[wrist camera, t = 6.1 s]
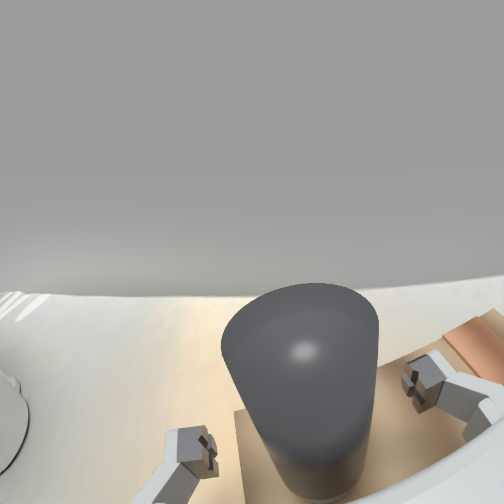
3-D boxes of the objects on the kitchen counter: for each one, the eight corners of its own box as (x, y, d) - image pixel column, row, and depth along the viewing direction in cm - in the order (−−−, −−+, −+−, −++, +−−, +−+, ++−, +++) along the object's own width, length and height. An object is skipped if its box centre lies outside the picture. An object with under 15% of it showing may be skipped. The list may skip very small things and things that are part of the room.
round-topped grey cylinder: (296, 520, 10) (225, 410, 5) (282, 463, 14) (218, 305, 9) (370, 497, 10) (408, 351, 5) (349, 443, 14) (342, 269, 9)
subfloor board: (268, 599, 6) (261, 601, 5) (239, 422, 19) (232, 409, 18) (580, 417, 7) (592, 402, 6) (489, 321, 19) (494, 305, 19)
